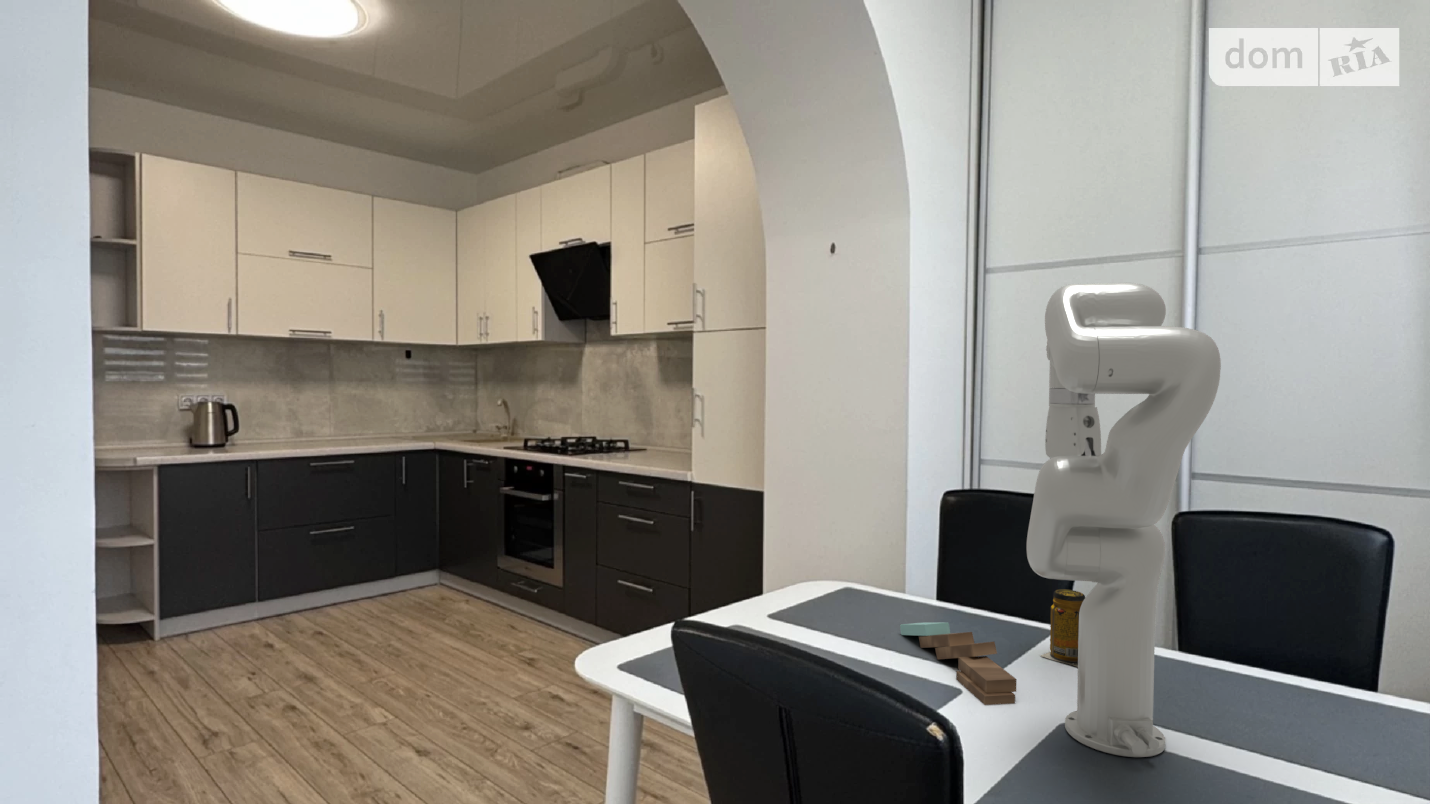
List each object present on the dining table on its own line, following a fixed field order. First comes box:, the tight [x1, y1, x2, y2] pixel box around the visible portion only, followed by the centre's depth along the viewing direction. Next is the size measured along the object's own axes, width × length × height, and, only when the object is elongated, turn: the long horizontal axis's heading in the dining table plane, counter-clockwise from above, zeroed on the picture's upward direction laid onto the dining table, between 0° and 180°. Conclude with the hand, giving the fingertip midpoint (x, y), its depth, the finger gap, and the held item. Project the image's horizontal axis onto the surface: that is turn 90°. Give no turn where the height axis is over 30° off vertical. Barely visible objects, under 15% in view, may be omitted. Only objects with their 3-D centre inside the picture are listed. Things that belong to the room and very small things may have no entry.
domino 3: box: [934, 641, 998, 660], centre depth 132 cm, size 2×5×10 cm
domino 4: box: [957, 655, 1017, 693], centre depth 123 cm, size 2×5×10 cm
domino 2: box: [918, 631, 975, 649], centre depth 138 cm, size 2×5×10 cm
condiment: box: [1040, 588, 1086, 668], centre depth 136 cm, size 7×8×12 cm
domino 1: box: [899, 622, 951, 637], centre depth 144 cm, size 2×5×10 cm
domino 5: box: [955, 670, 1016, 706], centre depth 122 cm, size 2×5×10 cm
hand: (1069, 499), depth 135 cm, fingers closed
